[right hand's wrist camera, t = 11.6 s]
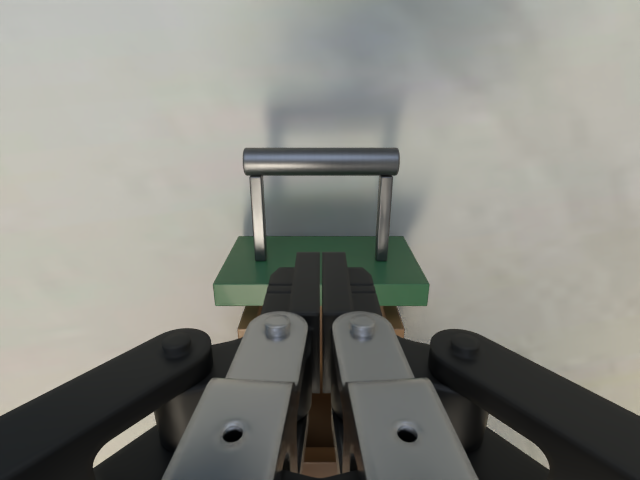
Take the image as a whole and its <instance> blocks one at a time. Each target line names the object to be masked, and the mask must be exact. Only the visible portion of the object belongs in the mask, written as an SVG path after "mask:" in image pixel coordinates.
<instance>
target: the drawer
mask: <svg viewBox="0 0 640 480" xmlns="http://www.w3.org/2000/svg"><path fill="white" fill-rule="evenodd" d="M399 164H400V155H399V150H398V148H245V149H244V152H243V169H244V173H245V175H247V176H250V193H251V208H252V223H253V236H239V237H238V239H237V240H236V242H235V244H234V246H233V248H232V250H231V252H230V254H229V255H228V257H227V259H226V261H225V263H224V265H223V267H222V268H221V270H220V272H219V274H218V276H217V278H216V280H215V281H214V283H213V289H214V298H215V305H216V306H245V309H244V312H243V315H242V318H241V321H240V323H239V326H238V339H239V338H241V337H243V336H244V333H245V331H246V329H247V326H248V325H249V323H250V322H251V321H252V320H253V319H254V318H256V317H258V316H260V314H261V311H262V307H263V303H264V299H265V295H266V291H267V287H268V284H269V280H270V276H271V274H272V273H274V272H275V271H276V270H277V269H278V268H279V267H295V261H296V254H297V252H320V393H312V403H311V408H310V410H309V425H308V433H307V440H306V447H334V440H333V433H332V425H331V393H323V380H322V252H345V253H346V260H347V267H363V268H364V269H365V270H366V271H367V272H369V273H370V274H371V275H372V279H373V283H374V286H375V290H376V294H377V297H378V301H379V305H380V309H381V312H382V316H383V317H384V318H386V319H387V320H388V321H389V322H390V323H391V325H392V326H393V329H394V331H395V333H396V335H398V336H400V337H402V338H404V331H405V329H404V326H403V323H402V320H401V318H400V315H399V312H398V309H397V306H427V302H428V293H429V283H428V281H427V279H426V277H425V275H424V273H423V272H422V270H421V268H420V266H419V264H418V262H417V261H416V259H415V257H414V255H413V253H412V252H411V250H410V248H409V246H408V244H407V242H406V241H405V239H404V237H403V236H389V227H390V212H391V198H392V184H393V177H392V176H395V175H397V174H398V171H399ZM263 176H379V190H378V208H377V226H376V236H266V222H265V203H264V185H263Z"/></svg>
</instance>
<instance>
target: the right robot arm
mask: <svg viewBox="0 0 640 480" xmlns="http://www.w3.org/2000/svg"><path fill="white" fill-rule="evenodd" d="M322 380H323V393H331V425H332V433H333V440H334V448H335V456H336V464H337V472H338V475H334V476H330V477H325V478H315V477H310V476H306V475H302V472H303V464H304V456H305V448H306V440H307V433H308V425H309V410H310V408H311V403H312V393H320V252H297V254H296V261H295V267H279V268H278V269H277V270H276V271H275V272H274V273H272V274H271V276H270V280H269V284H268V287H267V291H266V295H265V299H264V303H263V307H262V311H261V314H260V316H258V317H256V318H254V319H253V320H252V321H251V322H250V323H249V325H248V326H247V329H246V331H245V333H244V336H243V337H241V338H239V339H236V340H233V341H229V342H224V343H220V344H215V345H211V339H210V337H209V336H208V334H206V333H205V332H203V331H201V330H198V329H192V328H183V329H176V330H172V331H168V332H165V333H163V334H161V335H159V336H157V337H155V338H153V339H151V340H149V341H147V342H145V343H143V344H141V345H139V346H137V347H135V348H133V349H131V350H129V351H127V352H125V353H123V354H121V355H119V356H117V357H115V358H113V359H111V360H110V361H108V362H106V363H104V364H102V365H100V366H98V367H96V368H94V369H92V370H90V371H88V372H86V373H84V374H82V375H80V376H78V377H76V378H74V379H72V380H70V381H68V382H66V383H64V384H63V385H61V386H59V387H57V388H55V389H53V390H51V391H49V392H47V393H45V394H43V395H41V396H39V397H37V398H35V399H33V400H31V401H29V402H27V403H25V404H23V405H21V406H19V407H17V408H15V409H14V410H12V411H10V412H8V413H6V414H4V415H2V416H0V480H640V416H638V415H636V414H634V413H632V412H630V411H628V410H626V409H625V408H623V407H621V406H619V405H617V404H615V403H613V402H611V401H609V400H607V399H605V398H603V397H601V396H599V395H597V394H595V393H593V392H591V391H589V390H587V389H585V388H583V387H581V386H579V385H578V384H576V383H574V382H572V381H570V380H568V379H566V378H564V377H562V376H560V375H558V374H556V373H554V372H552V371H550V370H548V369H546V368H544V367H542V366H540V365H538V364H536V363H534V362H532V361H530V360H529V359H527V358H525V357H523V356H521V355H519V354H517V353H515V352H513V351H511V350H509V349H507V348H505V347H503V346H501V345H499V344H497V343H495V342H493V341H491V340H489V339H487V338H485V337H483V336H481V335H479V334H477V333H474V332H471V331H467V330H461V329H448V330H443V331H440V332H438V333H436V334H435V335H434V336H433V337H432V339H431V342H430V345H429V344H424V343H419V342H414V341H410V340H407V339H404V338H402V337H400V336H398V335H396V333H395V331H394V329H393V326H392V325H391V323H390V322H389V321H388V320H387V319H386V318H384V317H383V316H382V312H381V309H380V305H379V301H378V297H377V294H376V290H375V286H374V283H373V279H372V275H371V274H370V273H369V272H367V271H366V270H365V269H364V268H363V267H347V260H346V253H345V252H322ZM152 412H154V414H155V419H156V424H157V425H155V426H154V427H152V428H151V429H150V430H148V431H147V432H145V433H144V434H142V435H141V436H139V437H138V438H136V439H135V440H134V441H132V442H131V443H129V444H128V445H126V446H125V447H123V448H122V449H121V450H119V451H118V452H116V453H115V454H113V455H112V456H110V457H109V458H107V459H106V460H105V461H103V462H102V463H100V464H99V465H97V466H96V467H94V468H93V462H94V459H95V457H96V455H97V453H98V452H99V450H100V449H101V448H102V447H103V446H104V445H105V444H106V443H107V442H109V441H110V440H111V439H113V438H114V437H116V436H117V435H119V434H120V433H122V432H123V431H125V430H127V429H128V428H130V427H131V426H133V425H134V424H136V423H137V422H139V421H140V420H142V419H143V418H145V417H146V416H148V415H149V414H151V413H152ZM488 414H491V415H492V416H494V417H495V418H497V419H498V420H500V421H501V422H503V423H504V424H506V425H507V426H509V427H510V428H512V429H513V430H515V431H517V432H518V433H520V434H521V435H523V436H524V437H526V438H527V439H529V440H530V441H532V442H533V443H534V444H536V445H537V446H538V447H539V448H540V449H541V450H542V452H543V453H544V454H545V456H546V458H547V460H548V462H549V466H550V470H549V469H547V468H546V467H544V466H543V465H541V464H540V463H538V462H537V461H535V460H534V459H533V458H531V457H530V456H528V455H527V454H525V453H524V452H522V451H521V450H519V449H518V448H517V447H515V446H514V445H512V444H511V443H509V442H508V441H506V440H505V439H504V438H502V437H501V436H499V435H498V434H496V433H495V432H493V431H492V430H490V429H489V428H488V427H486V424H487V419H488Z"/></svg>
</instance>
